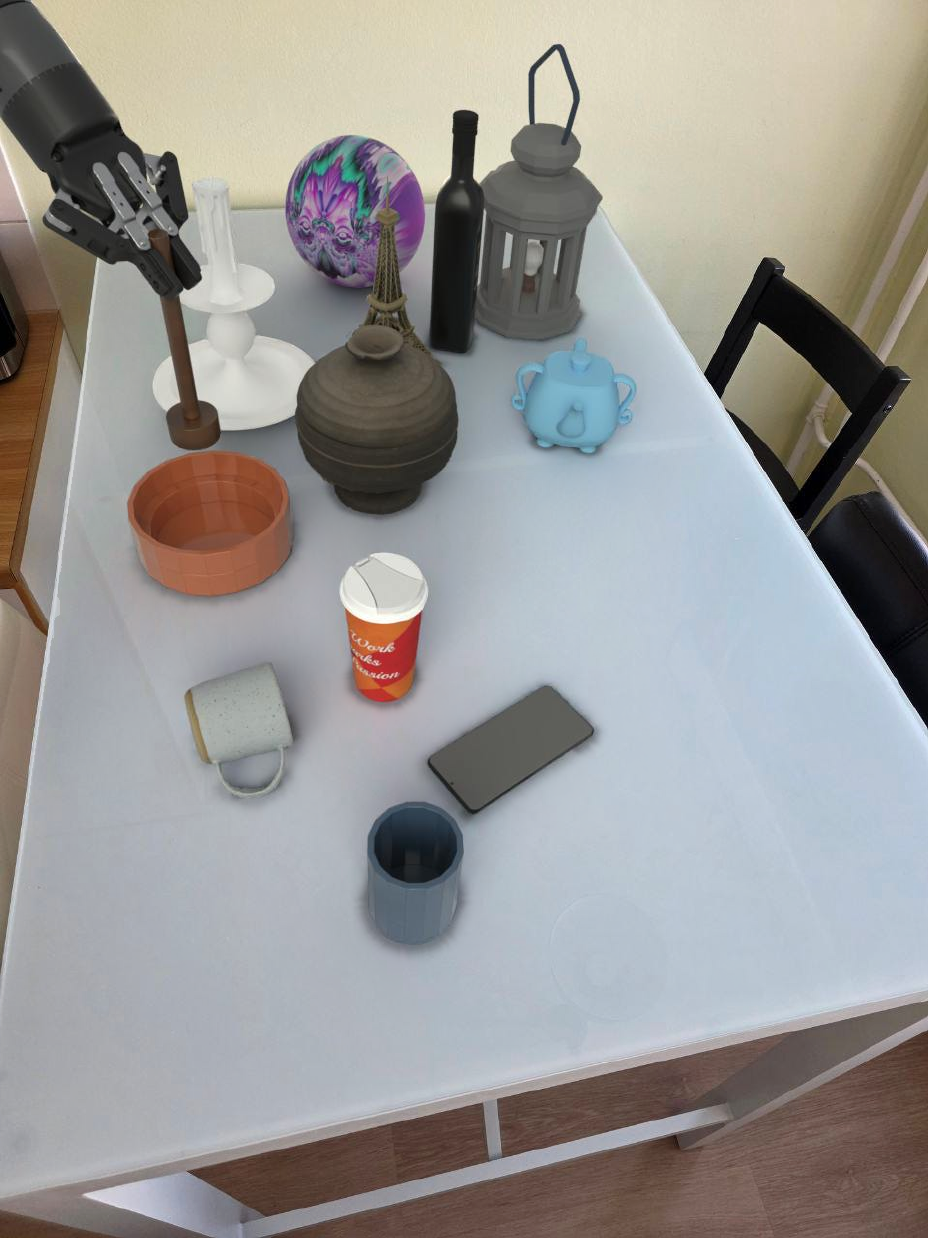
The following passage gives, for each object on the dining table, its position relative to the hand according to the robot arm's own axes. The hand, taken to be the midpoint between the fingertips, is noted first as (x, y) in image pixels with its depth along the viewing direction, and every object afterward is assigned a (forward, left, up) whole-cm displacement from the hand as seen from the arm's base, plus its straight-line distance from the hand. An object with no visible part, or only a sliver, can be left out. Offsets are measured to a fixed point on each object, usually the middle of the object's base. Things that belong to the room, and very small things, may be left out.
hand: (185, 289), depth 76 cm
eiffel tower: (+40, -1, -31) cm, 51 cm away
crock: (-30, -33, -31) cm, 54 cm away
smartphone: (-13, -36, -31) cm, 49 cm away
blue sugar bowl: (+35, -28, -31) cm, 55 cm away
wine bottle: (+49, -7, -31) cm, 59 cm away
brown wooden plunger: (0, +2, -16) cm, 16 cm away
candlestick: (+26, +14, -31) cm, 43 cm away
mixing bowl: (0, +2, -31) cm, 31 cm away
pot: (+16, -10, -31) cm, 36 cm away
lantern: (+62, -14, -31) cm, 71 cm away
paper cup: (-10, -22, -31) cm, 39 cm away
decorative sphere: (+59, +12, -31) cm, 68 cm away
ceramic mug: (-22, -14, -31) cm, 40 cm away
